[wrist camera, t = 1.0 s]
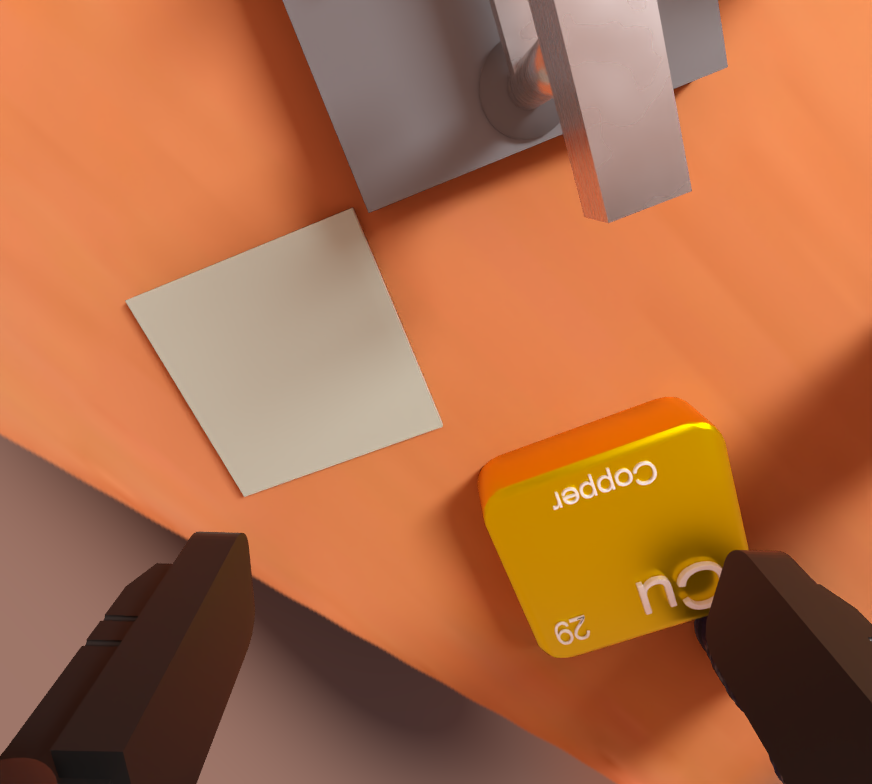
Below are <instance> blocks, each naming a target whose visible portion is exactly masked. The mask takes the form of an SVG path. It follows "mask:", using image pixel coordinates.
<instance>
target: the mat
mask: <svg viewBox="0 0 872 784" xmlns="http://www.w3.org/2000/svg"><path fill="white" fill-rule="evenodd" d="M126 303H127V305H128V306H129V308H130V310H131V311H132V313H133V315H134V316H135V318H136V319H137V321H138V323H139V324H140V326H141V328H142V329H143V331H144V333H145V334H146V336H147V338H148V339H149V341H150V343H151V344H152V346H153V347H154V349H155V351H156V352H157V354H158V356H159V357H160V359H161V361H162V362H163V364H164V366H165V367H166V369H167V370H168V372H169V374H170V375H171V377H172V379H173V380H174V382H175V384H176V385H177V387H178V389H179V390H180V392H181V394H182V395H183V397H184V398H185V400H186V402H187V403H188V405H189V407H190V408H191V410H192V412H193V413H194V415H195V417H196V418H197V420H198V422H199V423H200V425H201V426H202V428H203V430H204V431H205V433H206V435H207V436H208V438H209V440H210V441H211V443H212V445H213V446H214V448H215V449H216V451H217V453H218V454H219V456H220V458H221V459H222V461H223V463H224V464H225V466H226V468H227V469H228V471H229V473H230V474H231V476H232V477H233V479H234V481H235V482H236V484H237V486H238V487H239V489H240V491H241V492H242V494H243V496H244V497H245V496H248V495H251V494H254V493H257V492H260V491H262V490H265V489H268V488H271V487H274V486H277V485H279V484H282V483H285V482H288V481H291V480H293V479H296V478H299V477H302V476H305V475H308V474H310V473H313V472H316V471H319V470H322V469H325V468H327V467H330V466H333V465H336V464H339V463H342V462H344V461H347V460H350V459H353V458H356V457H358V456H361V455H364V454H367V453H370V452H373V451H375V450H378V449H381V448H384V447H387V446H390V445H392V444H395V443H398V442H401V441H404V440H406V439H409V438H412V437H415V436H418V435H421V434H423V433H426V432H429V431H432V430H435V429H438V428H440V427H443V423H442V420H441V418H440V415H439V413H438V411H437V408H436V406H435V403H434V401H433V399H432V396H431V394H430V391H429V389H428V387H427V384H426V382H425V379H424V377H423V374H422V372H421V370H420V367H419V365H418V362H417V360H416V358H415V355H414V353H413V350H412V348H411V346H410V343H409V341H408V338H407V336H406V334H405V331H404V329H403V326H402V324H401V321H400V319H399V317H398V314H397V312H396V309H395V307H394V305H393V302H392V300H391V297H390V295H389V293H388V290H387V288H386V285H385V283H384V280H383V278H382V276H381V273H380V271H379V268H378V266H377V264H376V261H375V259H374V256H373V254H372V252H371V249H370V247H369V244H368V242H367V240H366V237H365V235H364V232H363V230H362V227H361V225H360V223H359V220H358V218H357V215H356V213H355V211H354V208H350V209H348V210H346V211H343V212H341V213H338V214H336V215H333V216H331V217H328V218H326V219H324V220H321V221H319V222H316V223H314V224H311V225H309V226H307V227H304V228H302V229H299V230H297V231H294V232H292V233H289V234H287V235H285V236H282V237H280V238H277V239H275V240H272V241H270V242H267V243H265V244H263V245H260V246H258V247H255V248H253V249H250V250H248V251H245V252H243V253H241V254H238V255H236V256H233V257H231V258H228V259H226V260H223V261H221V262H219V263H216V264H214V265H211V266H209V267H206V268H204V269H201V270H199V271H197V272H194V273H192V274H189V275H187V276H184V277H182V278H179V279H177V280H175V281H172V282H170V283H167V284H165V285H162V286H160V287H157V288H155V289H153V290H150V291H148V292H145V293H143V294H140V295H138V296H135V297H133V298H131V299H128V300H126Z"/></svg>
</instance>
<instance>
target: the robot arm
mask: <svg viewBox="0 0 872 784" xmlns="http://www.w3.org/2000/svg"><path fill="white" fill-rule="evenodd" d="M254 615H255V605H254V595H253V585H252V575H251V565H250V555H249V545H248V540H247V537H246V535H245V534H244V533H225V532H196V533H194V534H193V535H192V536H191V537H190V539H189V540H188V542H187V543H186V545H185V546H184V548H183V549H182V551H181V552H180V554H179V555H178V557H177V559H176V560H175V562H174V563H173V564H158V563H157V564H155V565H154V566H153V567H151V568H150V569H149V570H147V571H146V572H145V573H143V574H142V575H141V576H139V577H138V578H137V579H135V580H134V581H133V582H131V583H130V584H129V585H127V586H126V587H125V588H124V590H123V591H122V592H121V594H120V595H119V597H118V598H117V599H116V601H115V602H114V603H113V605H112V606H111V607H110V609H109V610H108V611H107V613H106V614H105V619H104V621H100V622H99V624H98V625H97V627H96V628H95V629H94V631H93V632H92V633H91V634H90V636H89V637H88V638H87V643H86V645H85V646H82V647H81V648H80V649H79V651H78V652H77V653H76V655H75V656H74V657H73V659H72V660H71V662H70V663H69V664H68V666H67V667H66V668H65V670H64V671H63V673H62V674H61V675H60V677H59V678H58V679H57V680H56V682H55V683H54V685H53V686H52V687H51V689H50V690H49V691H48V693H47V694H46V696H45V697H44V698H43V699H42V701H41V702H40V704H39V705H38V706H37V708H36V709H35V710H34V712H33V713H32V714H31V716H30V717H29V718H28V720H27V721H26V722H25V724H24V725H23V727H22V728H21V729H20V731H19V732H18V734H17V735H16V736H15V738H14V739H13V740H12V741H11V743H10V744H9V746H8V747H7V748H6V749H5V751H4V752H3V753H2V754H1V756H0V784H196V783H197V780H198V778H199V775H200V773H201V770H202V767H203V765H204V762H205V759H206V757H207V754H208V752H209V749H210V746H211V744H212V741H213V739H214V736H215V733H216V731H217V728H218V726H219V723H220V720H221V718H222V715H223V712H224V710H225V707H226V705H227V702H228V699H229V697H230V694H231V692H232V689H233V686H234V684H235V681H236V678H237V676H238V673H239V671H240V668H241V665H242V663H243V660H244V658H245V655H246V652H247V650H248V647H249V644H250V640H251V636H252V631H253V625H254ZM706 638H707V644H708V648H709V651H710V654H711V656H712V659H713V660H714V662H715V664H716V666H717V667H718V669H719V671H720V673H721V674H722V676H723V678H724V679H725V681H726V683H727V684H728V686H729V688H730V690H731V691H732V693H733V695H734V696H735V698H736V700H737V701H738V703H739V705H740V707H741V708H742V710H743V712H744V713H745V715H746V717H747V718H748V720H749V722H750V723H751V725H752V727H753V729H754V730H755V732H756V734H757V735H758V737H759V739H760V740H761V742H762V744H763V746H764V747H765V749H766V751H767V752H768V754H769V756H770V757H771V759H772V761H773V763H774V764H775V766H776V768H777V769H778V771H779V773H780V774H781V776H782V778H783V780H784V781H785V783H786V784H872V624H871V623H870V622H869V621H868V620H867V619H866V618H865V617H864V616H863V615H862V614H861V613H860V612H859V611H858V610H857V609H856V608H854V607H853V606H851V605H850V604H848V603H847V602H845V601H844V600H843V599H841V598H840V597H838V596H837V595H835V594H834V593H832V592H831V591H829V590H828V589H826V588H825V587H823V586H822V585H820V584H816V583H815V582H814V581H813V580H812V579H811V578H810V577H809V576H808V574H807V573H806V572H805V571H804V570H803V569H802V568H801V567H800V566H799V565H798V564H797V563H796V562H795V561H794V560H793V559H792V558H791V557H790V556H789V555H788V554H786V553H784V552H781V551H757V550H733V551H731V552H730V553H729V554H728V555H727V557H726V559H725V561H724V565H723V568H722V571H721V574H720V578H719V581H718V584H717V587H716V591H715V594H714V597H713V601H712V604H711V607H710V610H709V614H708V617H707V621H706Z"/></svg>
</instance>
